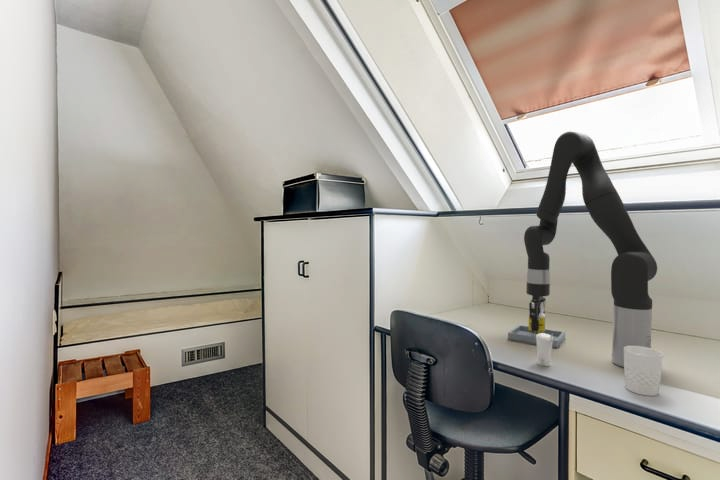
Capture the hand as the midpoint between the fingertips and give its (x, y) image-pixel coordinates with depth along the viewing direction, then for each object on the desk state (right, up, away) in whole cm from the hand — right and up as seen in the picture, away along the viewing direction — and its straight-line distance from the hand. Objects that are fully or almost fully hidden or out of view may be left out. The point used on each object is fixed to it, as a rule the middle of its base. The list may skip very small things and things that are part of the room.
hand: (537, 328), depth 139 cm
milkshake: (-9, -5, -25) cm, 27 cm away
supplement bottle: (0, -2, 0) cm, 2 cm away
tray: (0, -4, 0) cm, 4 cm away
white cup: (+7, -6, -42) cm, 43 cm away
